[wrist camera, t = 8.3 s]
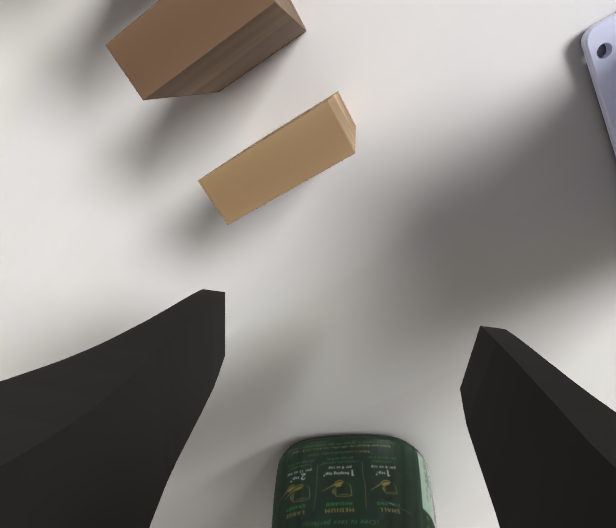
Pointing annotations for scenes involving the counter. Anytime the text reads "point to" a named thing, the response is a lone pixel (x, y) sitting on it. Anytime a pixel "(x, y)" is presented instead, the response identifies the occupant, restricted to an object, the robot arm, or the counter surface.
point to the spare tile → (282, 159)
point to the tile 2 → (201, 43)
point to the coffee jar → (353, 485)
